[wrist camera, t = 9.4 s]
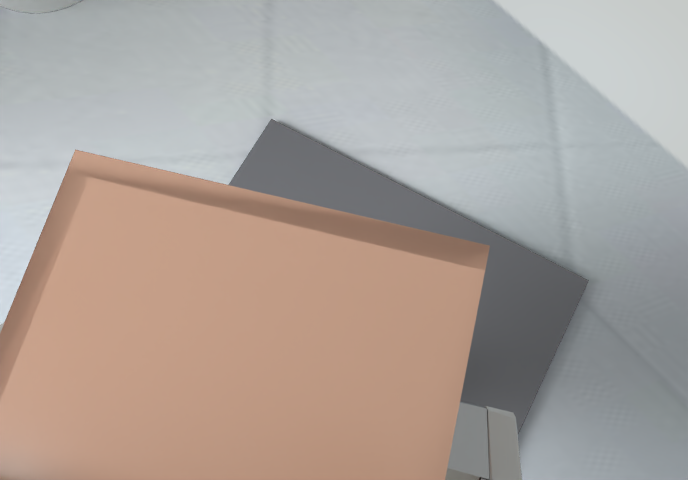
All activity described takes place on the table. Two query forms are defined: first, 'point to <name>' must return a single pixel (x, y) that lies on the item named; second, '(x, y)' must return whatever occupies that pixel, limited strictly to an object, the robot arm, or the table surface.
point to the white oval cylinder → (37, 5)
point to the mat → (422, 213)
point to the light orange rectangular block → (231, 337)
